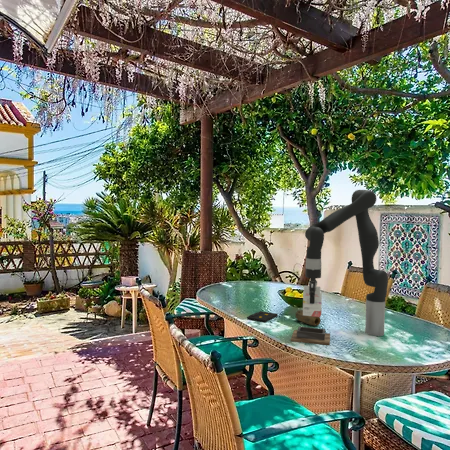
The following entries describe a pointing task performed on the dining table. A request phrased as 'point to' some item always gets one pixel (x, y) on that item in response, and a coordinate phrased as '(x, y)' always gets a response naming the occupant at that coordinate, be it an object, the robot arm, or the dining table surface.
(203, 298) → the dining table surface
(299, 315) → the brown cylinder
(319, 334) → the dock
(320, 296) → the ink cartridge box
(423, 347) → the dining table surface
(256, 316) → the cassette tape
